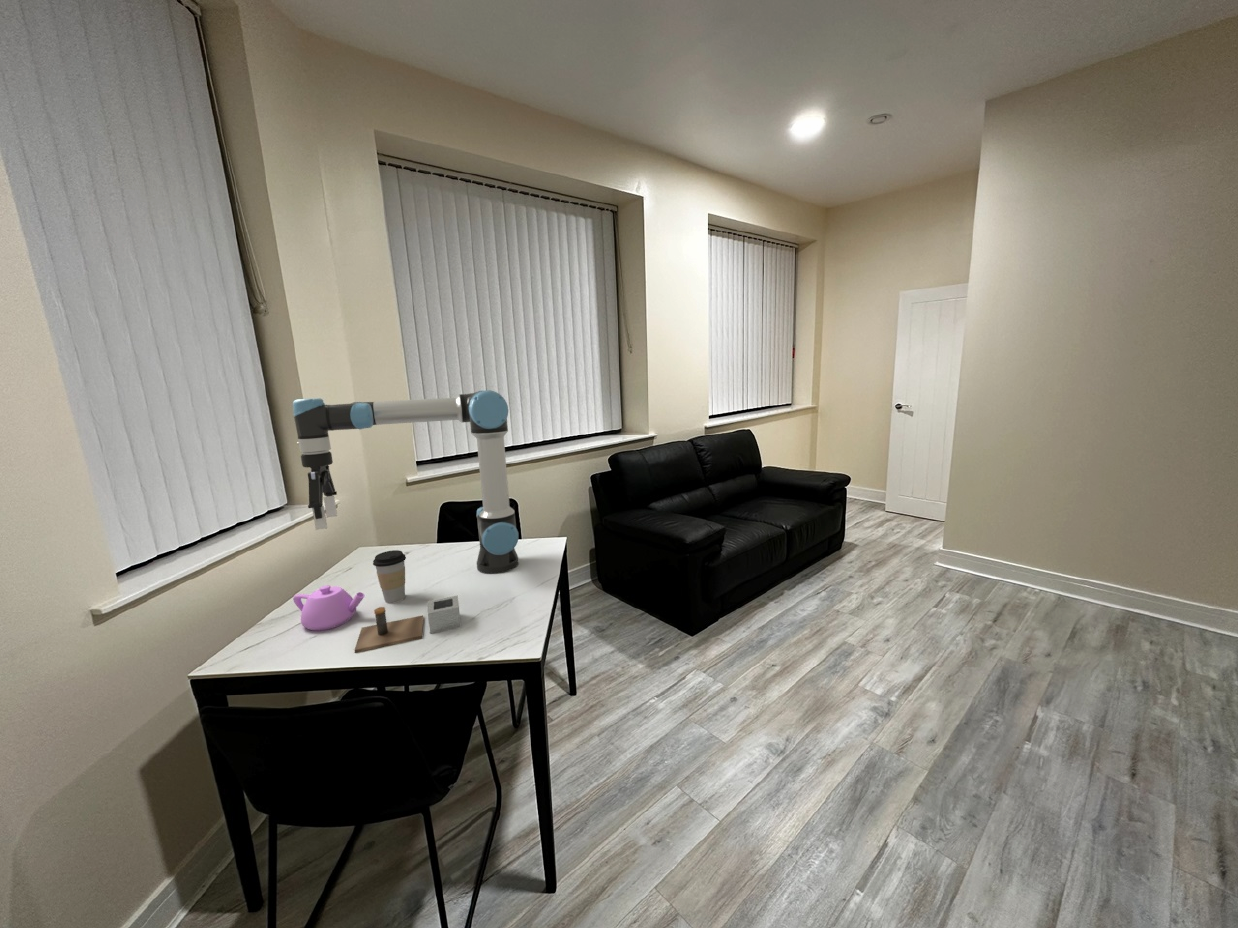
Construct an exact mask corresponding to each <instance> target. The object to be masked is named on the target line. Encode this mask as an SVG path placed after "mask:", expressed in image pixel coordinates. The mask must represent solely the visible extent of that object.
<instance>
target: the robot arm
mask: <svg viewBox="0 0 1238 928" xmlns="http://www.w3.org/2000/svg"><path fill="white" fill-rule="evenodd" d="M292 409H293V416H292V417H293V418H294V424H295V429H296V433H297V439H298V440H297V441H296V446H299V452H300V453H302V454H301V455H300V460H301V466H302V467H303V468H307V469H308V468H310V472H307V478H308V480H307V481H308V505H307V507H308V509H311V510H312V515H313V520H314V521H313V522H314V527H315V531H319V530H325V529H328V525H327V524H328V522H327V518H334V517H337V516H338V512H337V505H336V500H335V496H336V495H338V493H337V491H336V488H335V486H334V482H333V478H332V474H331V471H330V465H332V464H333V463H334V462H333V455H332V452H331V449H332V447H331V440H330V436H329V435H330V434H329V432H331V431H342V430H343V431H344V430H345V431H346V430H348V431H349V430H363V429H371V428H372V427H373V426H379V425H394V424H397V425H398V424H411V423H412V424H413V423H430V422H431V423H432V422H443V421H444V422H445V421H459V422H460V423H469V425H470V433H471V435H472V436H473V437H474V438H475V439H476V447H477V456H478V468H479V476H480V477H479V478H480V479H479V480H480V489H481V498H482V506H480V507H479V508H477V510H476V516H475V517H476V519H477V520H476V521H477V529H478V539H479V540H478V542H479V550H478V554H477V560H476V569H477V571H478V572H480V573H482V574H500V573H505V572H509V571H511V570H513V569H515V568H516V567H518V565H519V564H520V561H519V555H518V553H517V551H516V546H517V545H518V542H519V531H518V529H517V523H516V514H515V509H514V508H513V507H511V506H510V496H509V487H508V486H509V485H508V483H509V481H508V474H507V473H508V472H507V460H506V448H505V435H506V434H507V433H508V432H509V428H508V416H509V405H508V403H507V400H506V399H505V398H504V396H502V395H501V393H498V392H497V391H494V390H491V389H489V390H487V389H486V390H478V391H475V392H472V393H463V394H457V395H456V396H455V397H444V398H443V397H441V398H423V399H421V398H420V399H405V400H404V399H402V400H401V399H400V400H399V399H398V400H382V401H364V402H363V401H354V402H351V403H341V404H325V402H324V400H323V398H299V399H298V398H297V399H295V400H294V401H293V402H292ZM323 501H324V502H323ZM323 503H324V504H323Z"/></svg>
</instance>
